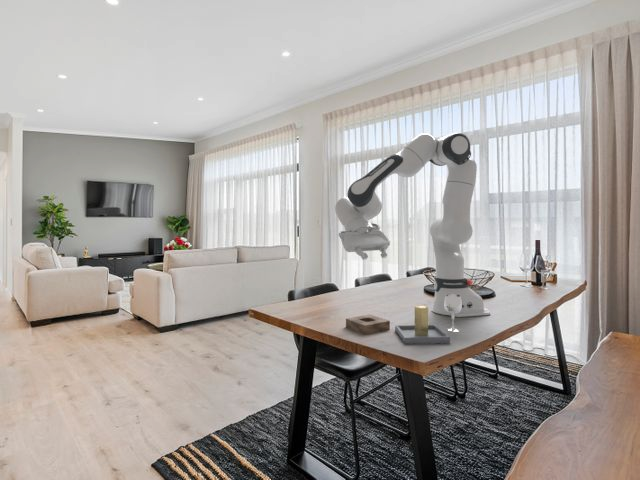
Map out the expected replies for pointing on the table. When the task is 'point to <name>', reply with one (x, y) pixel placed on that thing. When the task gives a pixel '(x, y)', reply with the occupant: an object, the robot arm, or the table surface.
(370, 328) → the block
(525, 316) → the table surface
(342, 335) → the table surface
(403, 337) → the tray
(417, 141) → the robot arm
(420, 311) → the yellow rectangular block
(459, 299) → the wineglass
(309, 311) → the table surface
